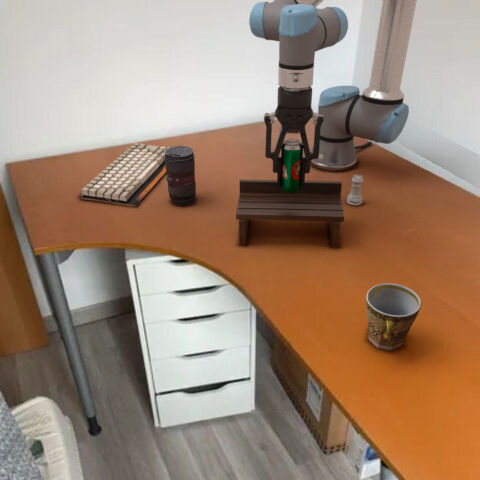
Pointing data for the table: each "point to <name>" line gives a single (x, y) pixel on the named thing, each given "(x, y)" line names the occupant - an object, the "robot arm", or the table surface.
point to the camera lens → (180, 174)
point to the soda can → (291, 165)
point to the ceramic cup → (390, 314)
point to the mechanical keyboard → (128, 176)
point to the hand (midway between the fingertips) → (290, 184)
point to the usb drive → (292, 130)
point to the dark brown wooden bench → (290, 205)
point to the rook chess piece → (355, 191)
